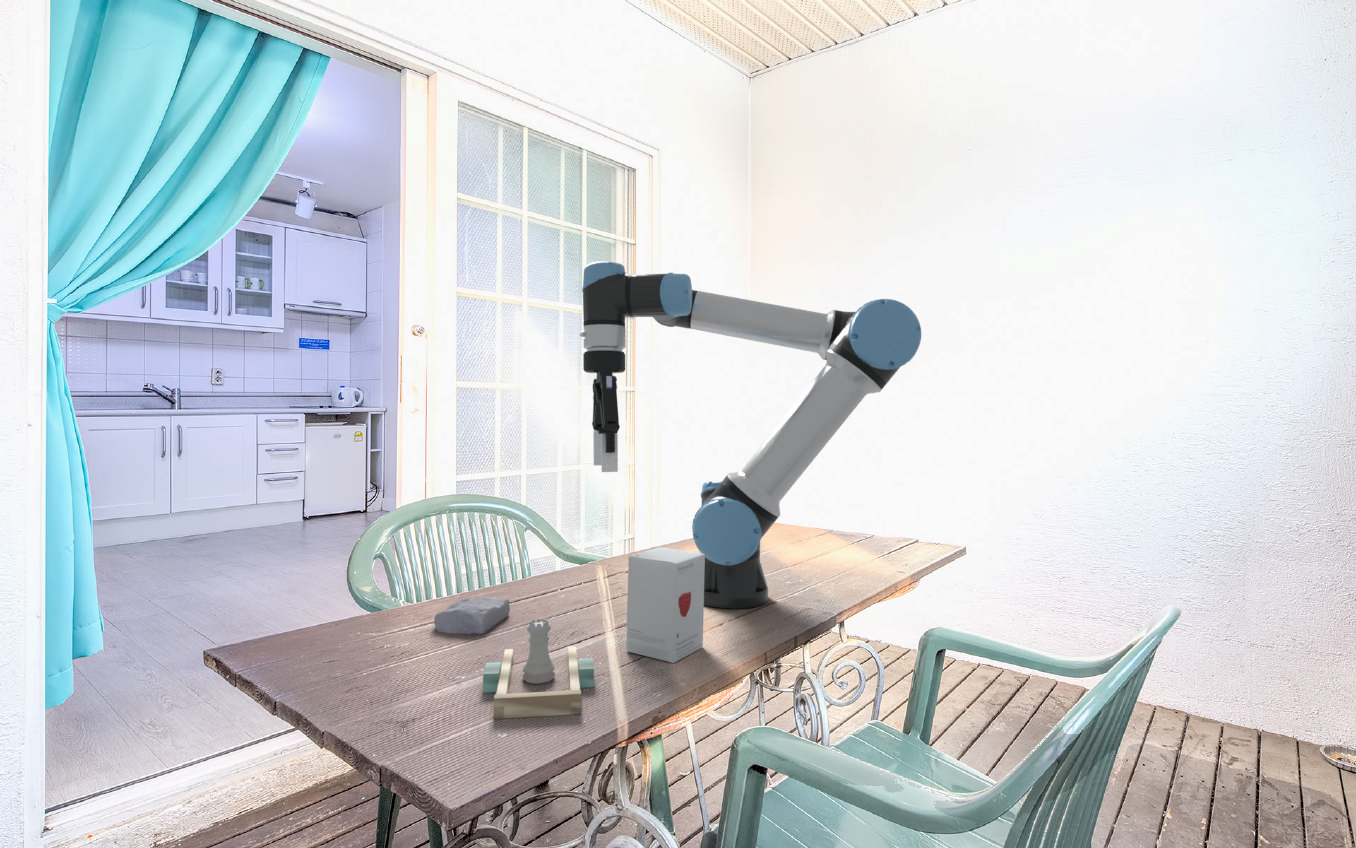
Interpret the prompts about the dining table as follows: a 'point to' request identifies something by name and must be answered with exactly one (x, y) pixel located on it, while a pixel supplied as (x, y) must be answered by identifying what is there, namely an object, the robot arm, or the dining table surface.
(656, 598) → the supplement box
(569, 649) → the beam track
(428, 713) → the dining table surface
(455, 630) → the stone block
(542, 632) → the rook chess piece
